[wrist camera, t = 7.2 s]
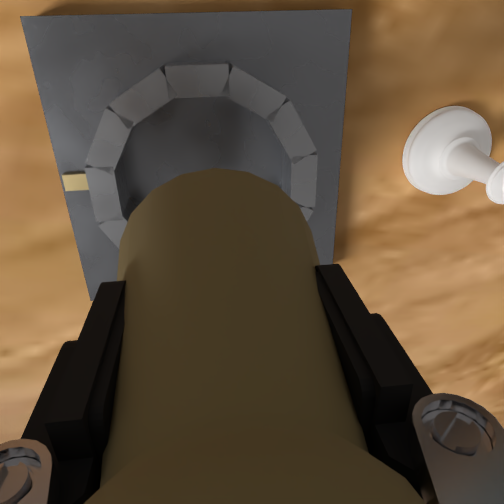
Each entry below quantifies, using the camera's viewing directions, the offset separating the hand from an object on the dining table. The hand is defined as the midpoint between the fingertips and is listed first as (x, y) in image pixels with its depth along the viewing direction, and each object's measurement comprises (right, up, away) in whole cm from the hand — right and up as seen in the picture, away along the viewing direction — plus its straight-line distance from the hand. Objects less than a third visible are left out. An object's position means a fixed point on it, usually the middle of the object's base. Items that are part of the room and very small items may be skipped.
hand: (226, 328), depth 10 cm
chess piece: (+12, +8, +14) cm, 19 cm away
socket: (-2, +6, +12) cm, 14 cm away
